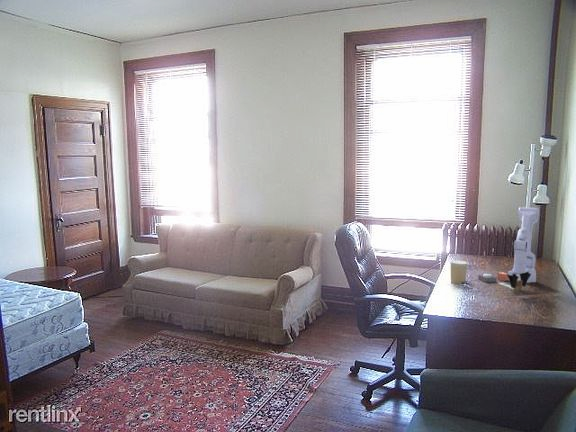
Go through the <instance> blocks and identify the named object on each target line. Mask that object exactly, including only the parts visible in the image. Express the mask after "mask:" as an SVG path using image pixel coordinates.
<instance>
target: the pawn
mask: <svg viewBox="0 0 576 432" xmlns="http://www.w3.org/2000/svg"><path fill="white" fill-rule="evenodd" d="M513 290H514V291H515V292H516V291H517V292H522V290H523V286H522V281H521V280H517V283H516V288H514V289H513Z"/></svg>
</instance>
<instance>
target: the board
mask: <svg viewBox="0 0 576 432" xmlns="http://www.w3.org/2000/svg"><path fill="white" fill-rule="evenodd" d="M477 278H478V280H479V281H482V282H484V283H496V282H497V280H498V279H497V278H498V276H494V275H492V277H489V278H486V277H484V276H483V274H478V277H477ZM498 284H499V285H501V286H504V287H506V288H510V289H512V290H514V288H512V287H511V284H506V283H505V282H498ZM522 291H523V289H522ZM522 291H521V292H522Z"/></svg>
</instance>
